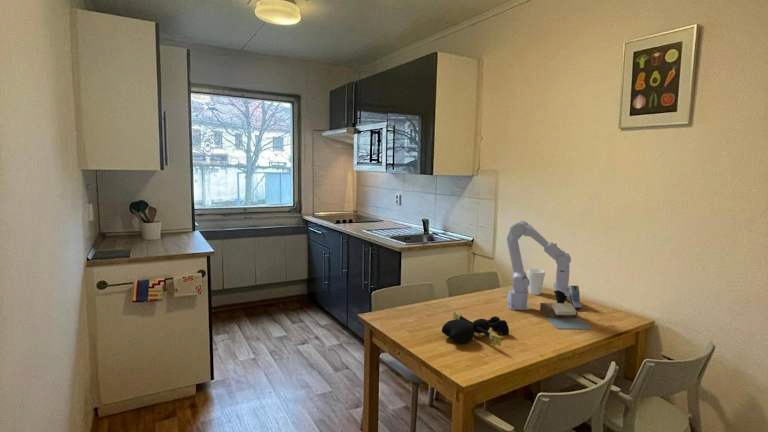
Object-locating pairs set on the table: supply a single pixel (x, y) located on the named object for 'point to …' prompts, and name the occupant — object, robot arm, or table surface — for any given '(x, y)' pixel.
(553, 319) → the mat
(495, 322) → the toy
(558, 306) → the cream flat block
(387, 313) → the table surface
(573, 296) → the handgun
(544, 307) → the brown flat block
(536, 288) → the foam cup
